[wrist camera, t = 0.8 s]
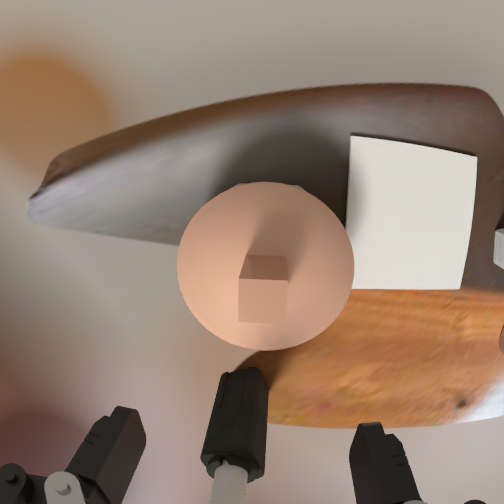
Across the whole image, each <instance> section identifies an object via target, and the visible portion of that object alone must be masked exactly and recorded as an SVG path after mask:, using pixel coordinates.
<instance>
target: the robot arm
mask: <svg viewBox="0 0 504 504" xmlns="http://www.w3.org/2000/svg"><path fill="white" fill-rule="evenodd" d="M500 348H501V351H502V352H503V353H504V328H503V330H502V333H501V337H500ZM145 446H146V434H145V431H144V428H143V425H142V422H141V419H140V416H139V413H138V411H137V410H136V409H131V408H126V407H121V406H117V407H116V408H115V409H114V411H113V412H112V414H111V416H110V417H108V416H103V417H102V418H101V419H99V420H98V421H97V422H95V423H94V425H93V426H92V428H91V430H90V431H89V434H87V436H86V437H85V439H84V442H82V444H81V445H80V447H79V449H78V450H77V452H76V454H75V455H74V457H73V458H72V460H71V462H70V463H69V465H68V467H67V468H66V470H65V471H64V472H56V473H53V474H52V475H50V476H49V477H43V476H36V475H30V474H27V473H26V472H25V470H24V469H23V468H22V467H21V466H19V465H17V464H14V463H10V464H6V465H4V466H2V467H1V468H0V504H121V503H122V500H123V498H124V496H125V493H126V491H127V489H128V486H129V484H130V482H131V479H132V477H133V475H134V472H135V470H136V468H137V465H138V463H139V461H140V458H141V456H142V454H143V451H144V449H145ZM349 462H350V468H351V474H352V479H353V485H354V491H355V497H356V503H357V504H427V503H426V502H423V501H422V499H421V498H420V496H419V493H418V490H417V487H416V484H415V480H414V477H413V474H412V471H411V468H410V466H409V465H408V460H407V457H406V456H405V451H404V449H403V445H402V443H401V442H400V441H399V440H398V438H397V437H396V436H395V435H394V434H386V435H385V433H384V430H383V427H382V424H381V423H380V422H371V423H361V424H359V425H358V427H357V431H356V433H355V436H354V439H353V442H352V445H351V447H350V453H349ZM464 504H486V503H484V502H482V501H480V500H470V501H468V502H466V503H464Z"/></svg>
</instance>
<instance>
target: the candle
mask: <svg viewBox="0 0 504 504" xmlns="http://www.w3.org/2000/svg"><path fill="white" fill-rule="evenodd" d="M268 394H269V391H268V387H267V385H266V383H265V380H264V378H263V376H262V373H261V371H260V370H259V369H257V368H254V367H249V368H248V369H246V370H241V371H236V372H231V373H229V372H225V373H223V374H222V376H221V378H220V382H219V386H218V390H217V394H216V398H215V402H214V406H213V410H212V414H211V418H210V422H209V426H208V429H207V433H206V437H205V441H204V445H203V449H202V453H201V457H200V458H201V461H202V463H203V464H204V465H205V466H206V468H207V472H208V474H209V475H210V476H211V477H212V478H214V481H213V486H212V491H211V496H210V501H209V504H245V496H246V487H247V483H250V482H252V481H254V480H255V479H258V478H260V477H262V476H263V475H264V470H265V452H266V434H267V415H268Z"/></svg>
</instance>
